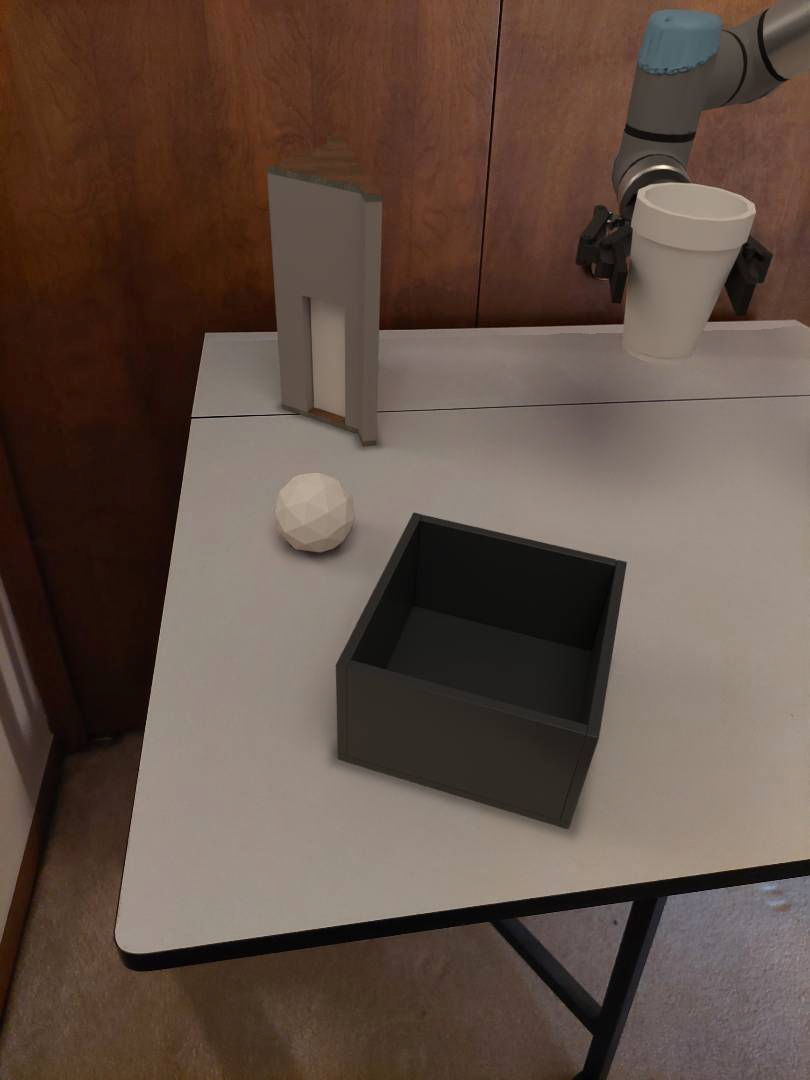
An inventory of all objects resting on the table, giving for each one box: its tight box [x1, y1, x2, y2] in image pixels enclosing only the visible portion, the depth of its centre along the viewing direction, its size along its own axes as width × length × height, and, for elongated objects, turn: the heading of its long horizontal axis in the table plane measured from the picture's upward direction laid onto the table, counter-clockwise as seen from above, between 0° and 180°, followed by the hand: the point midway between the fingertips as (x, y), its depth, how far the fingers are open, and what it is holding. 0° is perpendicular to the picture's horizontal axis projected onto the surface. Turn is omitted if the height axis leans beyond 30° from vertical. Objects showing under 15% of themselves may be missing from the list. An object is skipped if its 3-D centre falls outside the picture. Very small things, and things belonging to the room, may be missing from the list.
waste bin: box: [335, 512, 628, 830], centre depth 62 cm, size 18×18×11 cm
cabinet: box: [266, 135, 383, 447], centre depth 91 cm, size 21×10×28 cm, turn 14°
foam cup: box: [621, 182, 757, 365], centre depth 69 cm, size 10×9×13 cm
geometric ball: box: [273, 472, 356, 553], centre depth 77 cm, size 8×8×8 cm
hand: (682, 293), depth 65 cm, fingers closed on foam cup, 9 cm apart
